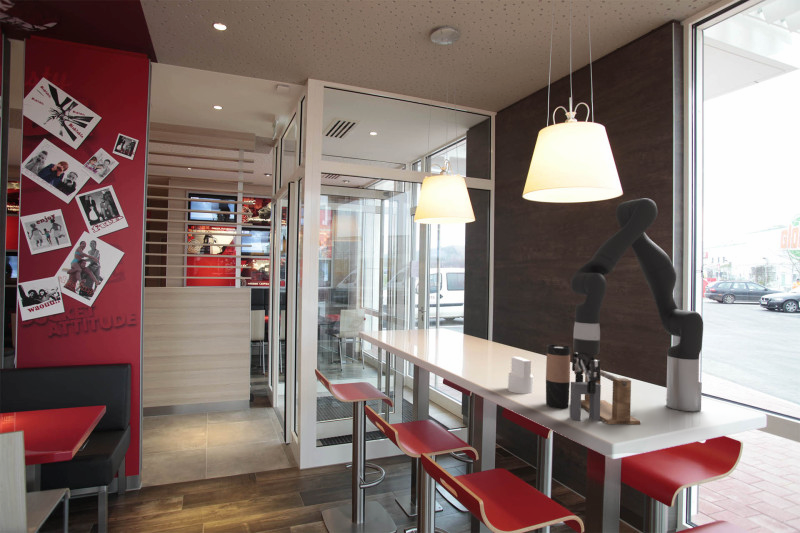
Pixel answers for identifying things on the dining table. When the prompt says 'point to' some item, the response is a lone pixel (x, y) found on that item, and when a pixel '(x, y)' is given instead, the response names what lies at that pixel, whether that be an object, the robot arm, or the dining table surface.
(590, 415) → the grey arch block
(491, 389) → the dining table surface
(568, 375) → the travel mug
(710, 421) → the dining table surface
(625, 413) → the rail
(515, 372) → the cylinder with rectangular tab
